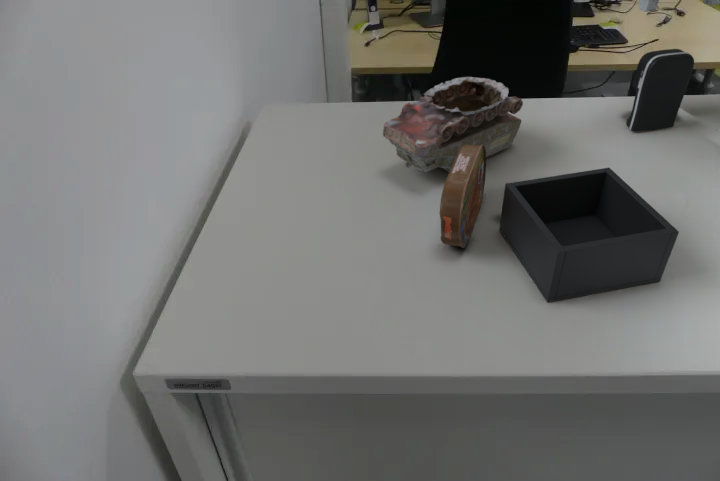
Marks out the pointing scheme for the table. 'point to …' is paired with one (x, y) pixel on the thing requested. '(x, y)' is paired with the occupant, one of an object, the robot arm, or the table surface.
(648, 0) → the robot arm
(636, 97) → the battery charger
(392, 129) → the decorative box
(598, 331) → the table surface
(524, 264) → the open box
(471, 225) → the tin
